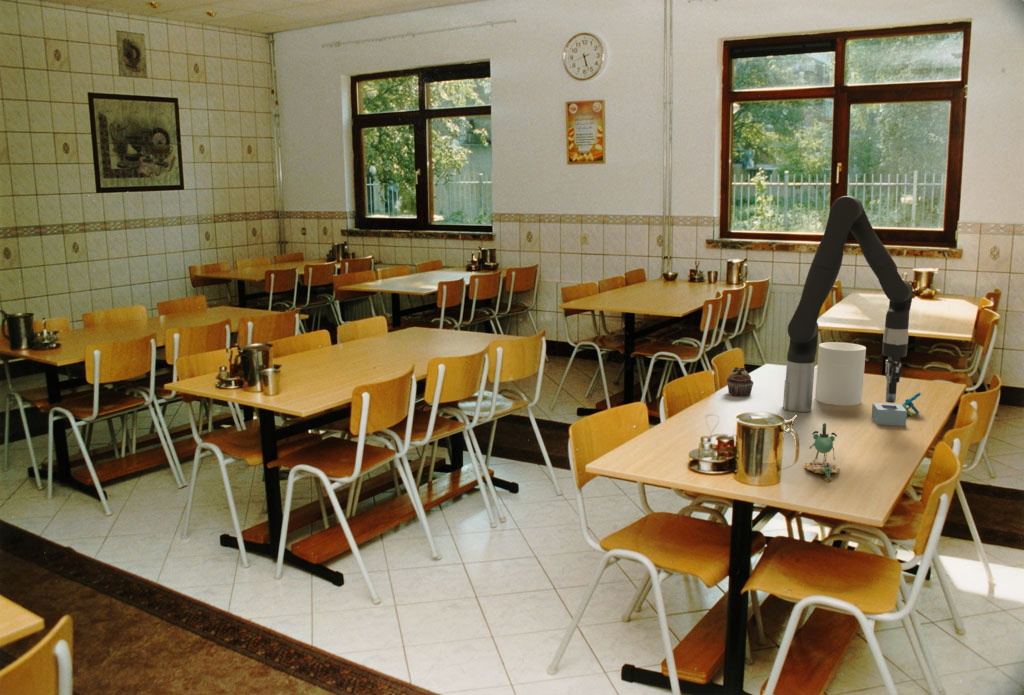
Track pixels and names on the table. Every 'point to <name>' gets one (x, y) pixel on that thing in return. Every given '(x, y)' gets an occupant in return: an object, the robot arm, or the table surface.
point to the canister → (840, 373)
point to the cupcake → (739, 383)
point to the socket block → (889, 414)
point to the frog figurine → (824, 446)
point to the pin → (890, 397)
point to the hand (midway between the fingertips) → (890, 392)
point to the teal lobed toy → (911, 404)
